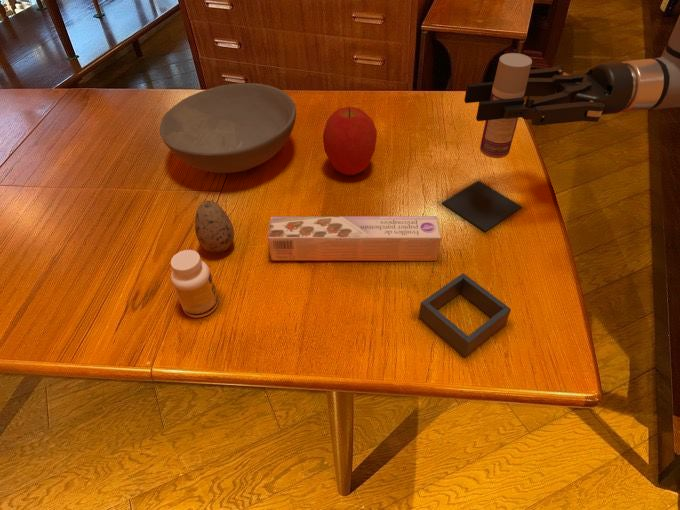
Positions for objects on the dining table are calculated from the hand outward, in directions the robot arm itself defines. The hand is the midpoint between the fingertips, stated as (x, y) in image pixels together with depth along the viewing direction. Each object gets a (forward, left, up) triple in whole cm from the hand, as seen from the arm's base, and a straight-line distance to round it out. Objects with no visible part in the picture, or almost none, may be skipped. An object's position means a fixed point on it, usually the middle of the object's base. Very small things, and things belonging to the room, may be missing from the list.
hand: (472, 102), depth 72 cm
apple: (+21, +6, -21) cm, 31 cm away
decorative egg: (+18, +37, -21) cm, 47 cm away
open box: (-18, +17, -21) cm, 32 cm away
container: (-3, -5, -9) cm, 11 cm away
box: (+3, +20, -21) cm, 30 cm away
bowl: (+40, +21, -21) cm, 50 cm away
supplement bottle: (+9, +45, -21) cm, 51 cm away
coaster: (-3, -5, -21) cm, 22 cm away
